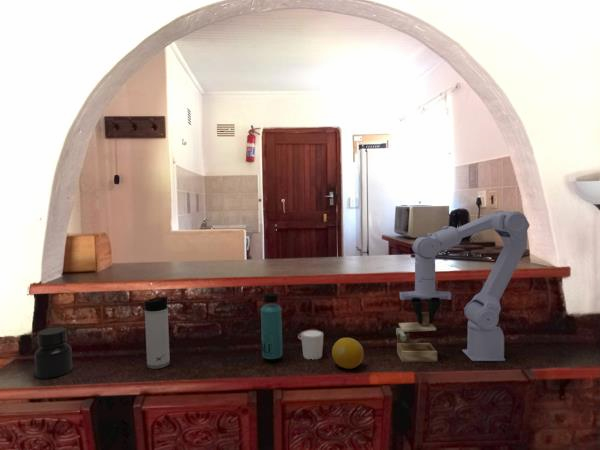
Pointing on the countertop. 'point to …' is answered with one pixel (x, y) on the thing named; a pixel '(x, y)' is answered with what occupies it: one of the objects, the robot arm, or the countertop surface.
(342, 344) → the fruit
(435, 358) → the toolbox
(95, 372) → the countertop surface
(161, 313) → the travel mug
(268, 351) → the beverage bottle
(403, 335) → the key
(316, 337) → the white mug
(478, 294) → the robot arm
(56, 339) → the ink bottle
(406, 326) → the lid
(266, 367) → the countertop surface
